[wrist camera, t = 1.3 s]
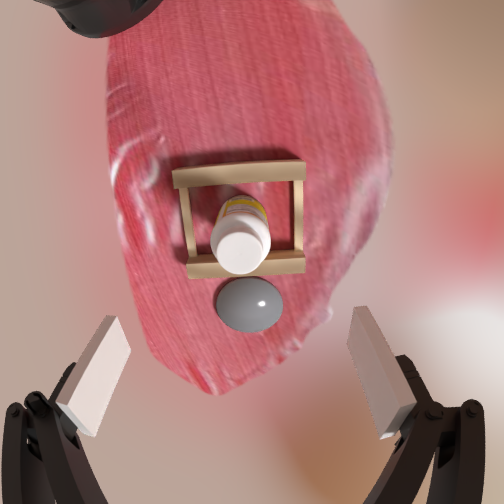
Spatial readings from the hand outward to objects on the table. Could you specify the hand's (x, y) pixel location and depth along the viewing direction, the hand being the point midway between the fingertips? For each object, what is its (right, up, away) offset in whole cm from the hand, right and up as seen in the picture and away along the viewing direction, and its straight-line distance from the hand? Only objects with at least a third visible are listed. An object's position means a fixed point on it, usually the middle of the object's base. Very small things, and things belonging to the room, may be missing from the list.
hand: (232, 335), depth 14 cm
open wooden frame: (0, +9, +18) cm, 20 cm away
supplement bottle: (0, +9, +18) cm, 20 cm away
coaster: (+1, -3, +23) cm, 23 cm away
